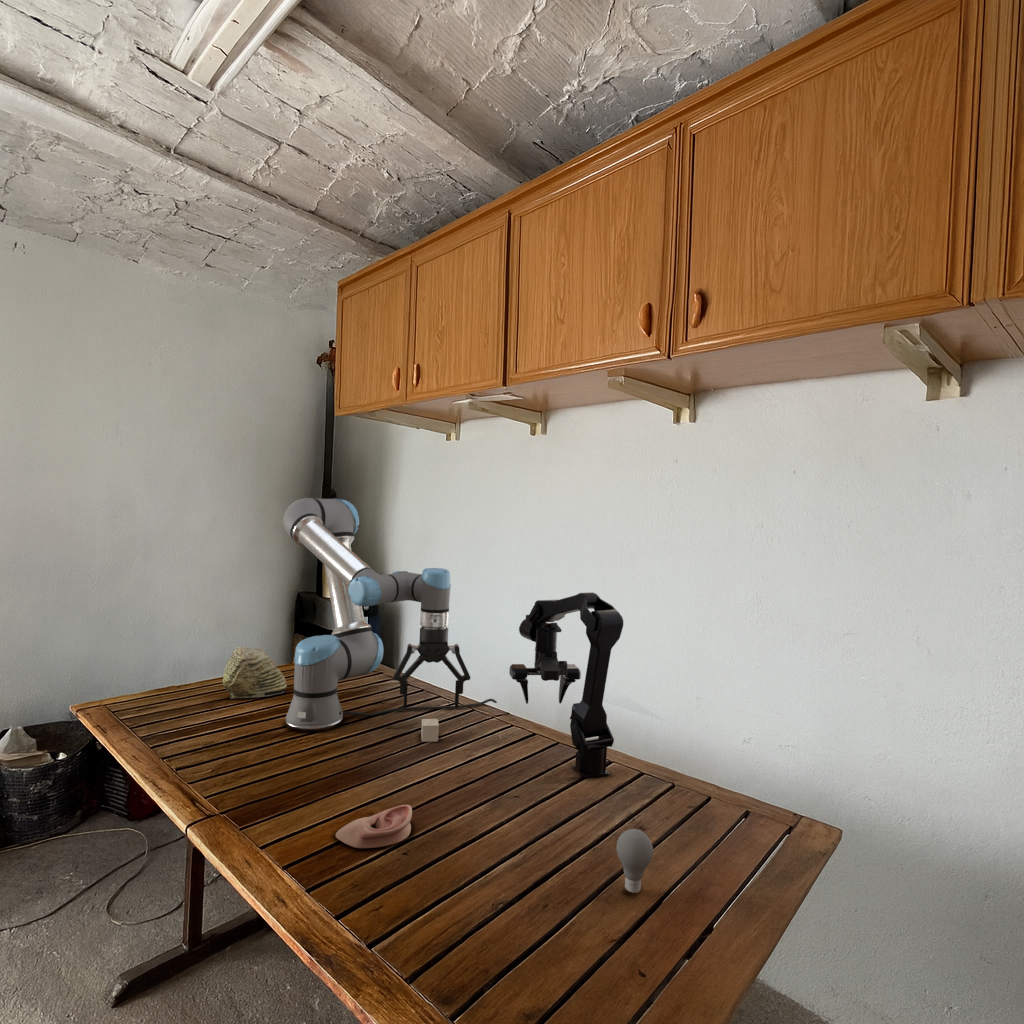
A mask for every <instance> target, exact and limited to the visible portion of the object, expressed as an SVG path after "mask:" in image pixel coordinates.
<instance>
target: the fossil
mask: <svg viewBox="0 0 1024 1024" xmlns="http://www.w3.org/2000/svg"><path fill="white" fill-rule="evenodd" d="M222 676H223V677H222V685H223V687H224V688H225V690H226V691H228V693H229V698H230V699H250V698H264V697H271V696H275V695H281V694H284V693H285V691H286V689H287V687H288V686H287V680H286V678H285V676H284V674H283V673H282V672H281V669H279V668H278V667H277V665H276V663H275V662H274V660H273V659H272V658H271V657H270V656H269V655H268V654H267V653H266V652H265V650H264V649H263V648H260V647H258V648H251V647H247V646H246V647H245V646H238V647H237V648H236V649H235V650H233V651H232V653H231V656H230V657H229V659H228V660H227V663H226V666H225V668H224V671H223V675H222Z"/></svg>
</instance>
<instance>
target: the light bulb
mask: <svg viewBox="0 0 1024 1024" xmlns="http://www.w3.org/2000/svg"><path fill="white" fill-rule="evenodd" d="M615 849H616V854H617V857H618V859H619V861H620V863H621V865H622V867H623V873H624V874H623V875H624V876H625V878H624V888H625V890H627V891H628V892H630V893H634V894H635V893H639V892H640V891H641V889H642V887H641V886H642V879H643V877H644V875H645V871H646V868H647V867H648V866H649V864H650V863H651V861H652V859H653V855H654V847H653V843H652V841H651V838H649V836H648V835H647V834H646V833H645V832H643V831H642V830H641V829H636V828H629V829H627V830H625V831H623V832H622V833H621V834H620V835H619V837H618V839H617V841H616V847H615Z"/></svg>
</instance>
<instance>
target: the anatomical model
mask: <svg viewBox="0 0 1024 1024" xmlns="http://www.w3.org/2000/svg"><path fill="white" fill-rule="evenodd" d="M412 817H413V808H412V806H411V805H410V804H401V805H396V806H393V807H390V808H388V809H385V810H382V811H380V812H378V813H375V814H373V815H370V816H364V817H361V818H357V819H355V820H352V821H350V822H349V823H346V824H345V825H344V826H342V827H341V828H340V829H338V830H337V832H335V838H336V839H337V840H338V841H341V842H342V843H344V844H345V845H348V846H349V847H352V848H355V849H372V848H373V849H374V848H381V847H388V846H391V845H395V844H397V843H400V842H402V841H404V840H405V839H408V837H409V836H410V834H411V831H412V824H411V821H412Z"/></svg>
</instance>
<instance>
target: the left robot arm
mask: <svg viewBox="0 0 1024 1024" xmlns="http://www.w3.org/2000/svg"><path fill="white" fill-rule="evenodd" d="M282 522H283V528H284V530H285V532H286V534H287V535H288V537H289V538H290V539H291V540H292V541H293V542H294V543H295V544H297V546H304V547H305V548H306V549H307V550H308V551H309V552H311V553H312V555H314V556H315V557H316V558H317V559H318V560H319V561H320V562H321V563H322V564H323V565H324V571H325V576H326V582H327V587H328V592H329V593H328V594H329V599H330V604H331V610H332V616H333V622H334V627H335V628H334V630H333V631H332V632H331V634H322V635H313V636H310V637H307V638H304V639H302V640H301V641H299V642H298V643H297V645H296V647H295V652H294V653H295V654H294V657H293V662H294V672H293V673H294V674H293V675H294V676H293V695H292V696H293V697H292V699H291V702H290V704H289V708H288V711H287V713H286V715H285V726H286V728H287V729H289V730H291V731H294V732H295V731H296V732H301V733H316V732H325V731H329V730H332V729H335V728H337V727H339V726H340V725H342V723H343V722H344V715H352V716H362V717H372V716H374V717H375V716H378V715H383V714H387V713H391V712H400V711H401V712H402V711H416V710H418V711H419V710H448V709H462V708H472V707H477V706H482V705H485V704H487V703H489V702H493V703H494V704H498V702H497V700H495V699H494V698H487V699H485V700H483V701H481V702H476V703H468V704H460V705H459V702H460V700H459V699H460V695H463V693H464V683H465V682H466V681H470V680H471V674H470V672H469V671H468V668H467V666H466V664H465V662H464V659H463V658H462V655H461V651H460V650H461V649H460V646H459V644H458V643H455V644H453V645H449V628H448V626H449V623H450V621H449V620H450V598H451V597H450V596H451V587H452V585H451V572H450V571H449V570H448V569H447V568H441V567H426V568H423V569H422V572H421V573H415V572H409V571H407V570H403V571H400V570H399V571H398V570H396V571H393V572H392V573H388V574H379V573H377V572H376V571H375V570H374V569H373V568H372V567H370V566H369V565H368V564H367V563H366V562H364V561H363V560H362V559H361V558H360V557H359V556H358V555H357V554H356V553H355V552H354V551H352V546H351V545H352V543H353V541H354V540H355V534H356V533H357V532H358V530H359V525H360V517H359V512H358V510H357V508H356V507H355V506H354V504H353V503H351V502H349V501H348V500H345V499H340V498H336V497H335V498H313V497H304V498H303V497H302V498H299V499H297V500H295V501H294V502H292V503H290V505H288V507H287V508H286V510H285V512H284V515H283V521H282ZM405 601H411V602H418V603H420V617H419V618H420V620H419V625H420V626H421V627H420V628H419V641H418V645H416V644H415V645H414V644H412V643H408V644H407V645H406V652H405V653H404V656H403V657H402V659H401V661H400V663H399V665H398V666H397V668H396V670H395V672H394V674H393V681H397V682H399V695H403V707H396V708H388V709H384V710H380V711H376V712H359V711H358V712H357V711H343V709H342V706H341V702H340V699H339V695H338V682H339V681H343V680H347V679H350V678H356V677H359V676H364V675H367V674H370V673H372V672H374V671H375V670H377V669H378V668H379V666H380V665H381V663H382V661H383V658H384V643H383V640H382V639H381V637H379V634H377V633H375V632H373V631H372V625H371V624H369V623H367V622H366V621H365V616H364V610H363V607H374V606H377V605H383V604H384V605H385V604H391V603H399V602H405ZM416 651H417V652H418V654H419V656H418V657H417V658H416V659H415V661H414V662H413V663H412V664H411V665H410V666H409V667H408V668H407V669H406V671H404V669H405V667H406V665H407V664H408V662H409V660H410V658H411V656H412V655H413V654H415V652H416ZM450 651H451V653H452V654H453V655H455V657H456V660H457V662H458V665H459V666H460V669H461V671H462V673H463V675H462V674H461V673H460V672H459V670H458V669H457V668H456V667H455V665H454V664H453V662H451V660H450V659H449V657H448V656H447V655H448V653H449V652H450ZM424 662H426V663H438V664H439V663H440V662H442V663H443V664H444V665H445V666H446V667H447V668H448V669H449V671H450V672H451V673H452V675H453V676H454V677H455V678H456V680H455V687H454V688H455V689H454V690H455V691H454V705H442V706H441V705H440V706H439V705H438V706H412V707H410V706H409V707H408V683H409V681H408V679H409V678H410V677H411V676H412V674H414V672H416V670H417V669H418V668H419V667H420V666H421V665H422V664H423V663H424ZM403 671H404V673H403ZM402 673H403V674H402Z"/></svg>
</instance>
